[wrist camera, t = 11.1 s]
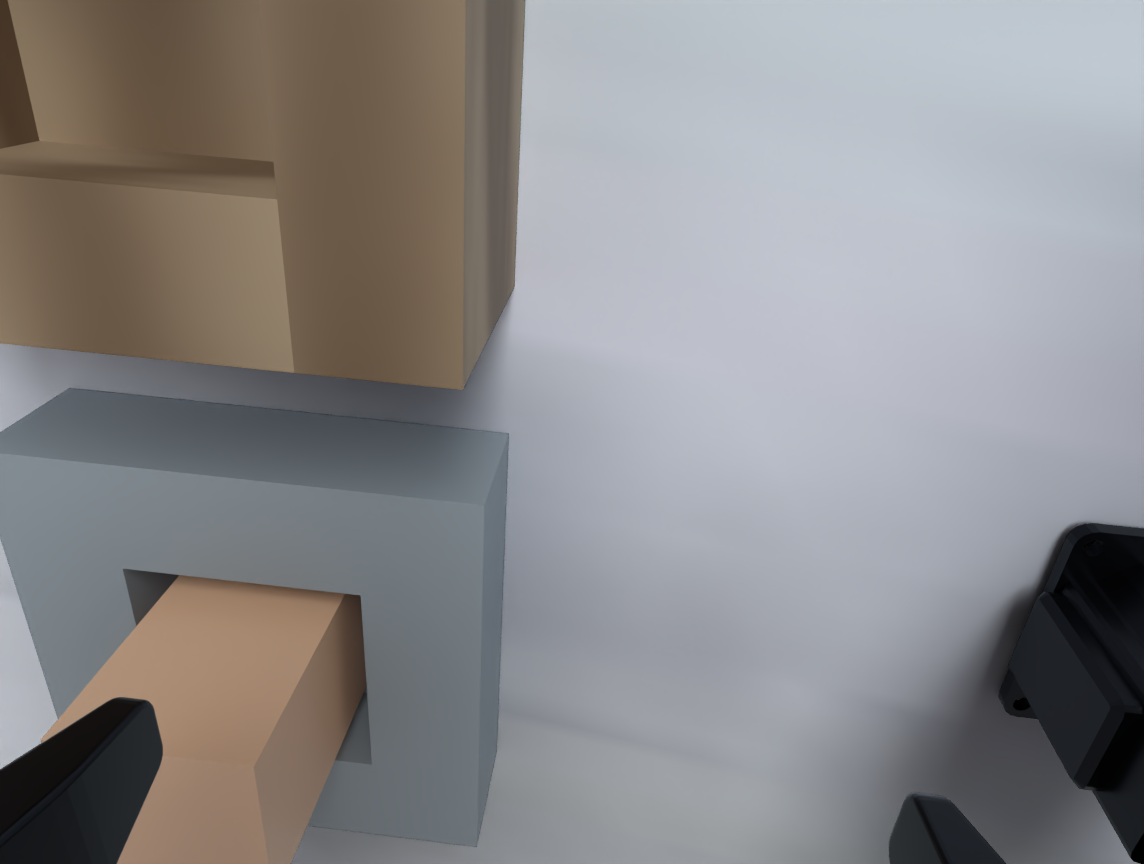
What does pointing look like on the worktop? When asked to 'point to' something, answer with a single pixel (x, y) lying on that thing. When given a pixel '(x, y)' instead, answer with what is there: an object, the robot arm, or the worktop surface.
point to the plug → (235, 715)
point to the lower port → (282, 568)
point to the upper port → (261, 181)
